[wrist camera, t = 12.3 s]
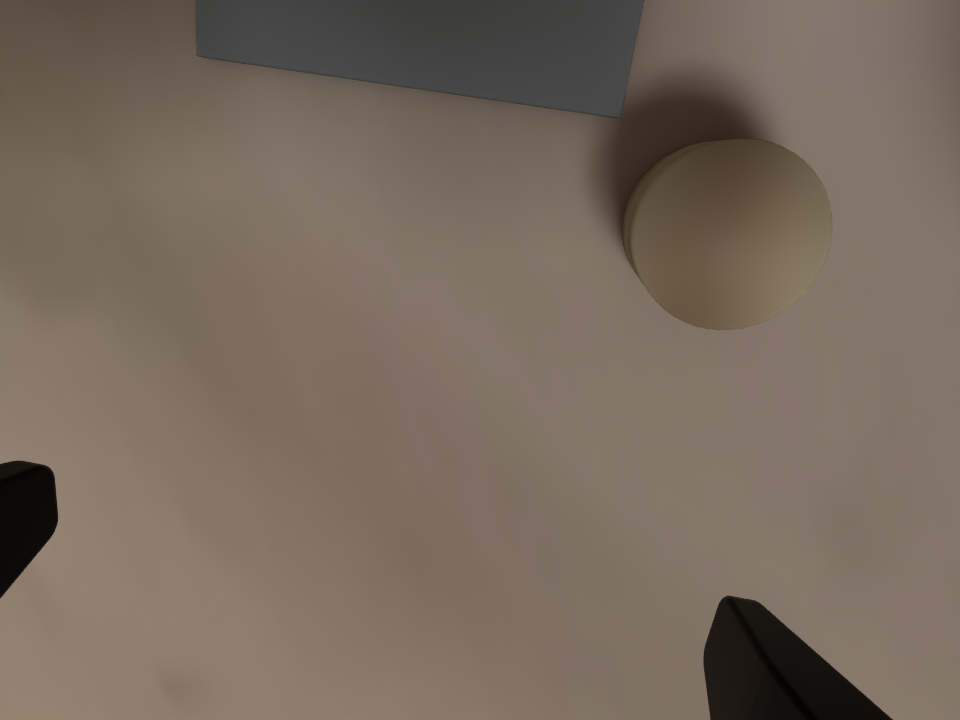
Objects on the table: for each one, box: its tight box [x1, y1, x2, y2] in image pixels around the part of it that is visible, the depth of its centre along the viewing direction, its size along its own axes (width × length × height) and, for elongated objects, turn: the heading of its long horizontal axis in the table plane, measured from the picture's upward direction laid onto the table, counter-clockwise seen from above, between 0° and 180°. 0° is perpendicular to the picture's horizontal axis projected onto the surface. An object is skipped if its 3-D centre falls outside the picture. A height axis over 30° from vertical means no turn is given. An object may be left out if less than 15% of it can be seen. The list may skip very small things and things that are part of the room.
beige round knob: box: [623, 139, 832, 330], centre depth 17 cm, size 5×5×3 cm
